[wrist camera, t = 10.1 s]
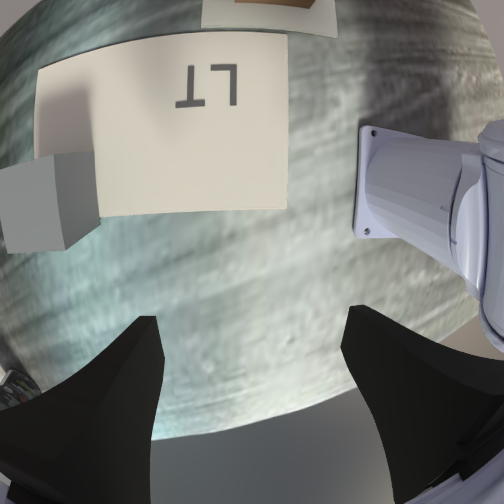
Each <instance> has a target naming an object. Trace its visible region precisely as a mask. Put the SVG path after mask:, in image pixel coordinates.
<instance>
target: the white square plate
mask: <svg viewBox="0 0 504 504" xmlns="http://www.w3.org/2000/svg"><path fill="white" fill-rule="evenodd" d="M221 27H240V28H263V29H276V30H286V31H295V32H302V33H309V34H315V35H321V36H326V37H331V38H336V37H338V30H337V20H336V11H335V3H334V0H316V1H315V2H314V3H313V5H312V6H311V8H310V9H306V8H299V7H291V6H283V5H272V4H258V3H235V0H203V6H202V19H201V28H221Z"/></svg>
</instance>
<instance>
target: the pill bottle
mask: <svg viewBox="0 0 504 504" xmlns="http://www.w3.org/2000/svg"><path fill="white" fill-rule="evenodd" d="M39 395H41V392H40V391H39V389H38V388H37V386H36V385H35V384H34V383H33V382H32V381H31V380H30V379H29V378H27V377H26V376H25V375H23V374H22V373H20V372H18V371H16V370H9V371H8V372H7V373H6V375H5V377H4V378H3V380H2V381H1V383H0V411H1V410H4V409H7V408H10V407H13V406H16V405H18V404H21V403H23V402H26V401H28V400H30V399H32V398H34V397H37V396H39Z"/></svg>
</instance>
